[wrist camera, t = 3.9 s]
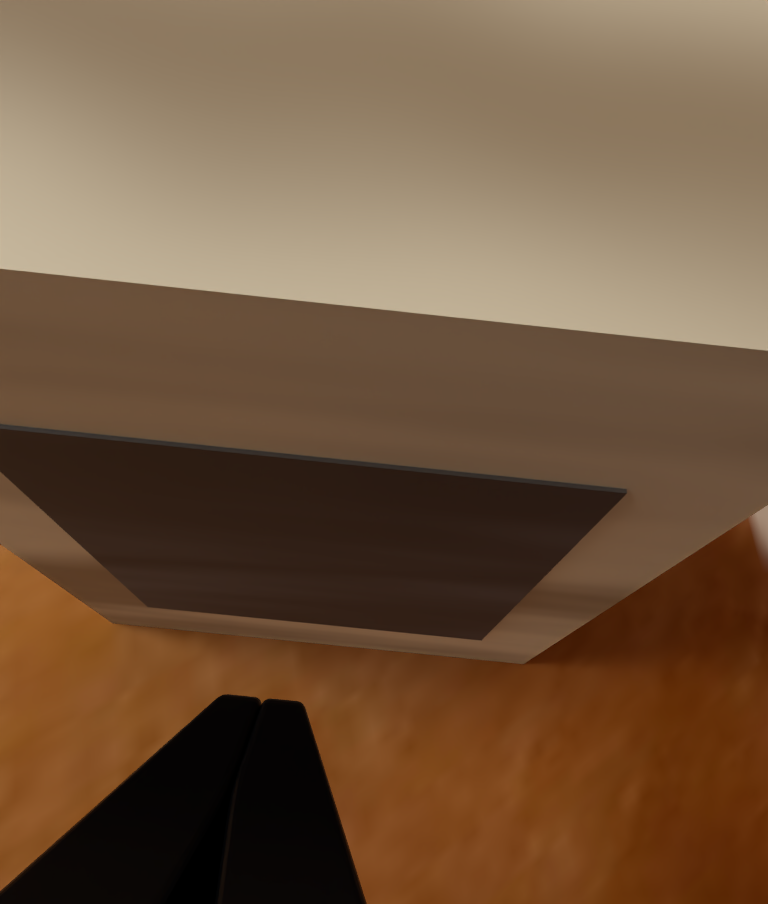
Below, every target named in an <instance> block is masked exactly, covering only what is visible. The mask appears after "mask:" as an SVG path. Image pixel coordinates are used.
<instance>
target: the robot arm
mask: <svg viewBox="0 0 768 904" xmlns="http://www.w3.org/2000/svg"><path fill="white" fill-rule="evenodd" d="M0 904H367V903H366V900H365V897H364V894H363V891H362V887H361V884H360V881H359V878H358V875H357V871H356V868H355V865H354V862H353V859H352V856H351V852H350V849H349V846H348V843H347V840H346V836H345V833H344V830H343V827H342V824H341V820H340V817H339V814H338V811H337V808H336V804H335V801H334V798H333V795H332V792H331V789H330V785H329V782H328V779H327V776H326V773H325V769H324V766H323V763H322V760H321V757H320V753H319V750H318V747H317V744H316V741H315V738H314V734H313V731H312V728H311V725H310V722H309V718H308V715H307V712H306V709H305V707H304V705H303V704H302V703H301V702H298V701H289V700H279V699H267V700H265V701H264V702H263V703H262V704H261V701H260V700H259V699H258V698H256V697H248V696H238V695H228V694H227V695H222V696H220V697H218V698H217V699H216V700H214V701H213V702H212V703H211V704H210V705H209V706H208V707H207V708H205V709H204V710H203V711H202V712H201V713H200V714H199V715H198V716H196V717H195V718H194V719H193V720H192V721H191V722H190V723H189V724H187V725H186V726H185V727H184V728H183V729H182V730H181V731H180V732H178V733H177V734H176V735H175V736H174V737H173V738H172V739H171V740H170V741H168V742H167V743H166V744H165V745H164V746H163V747H162V748H161V749H159V750H158V751H157V752H156V753H155V754H154V755H153V756H152V757H150V758H149V759H148V760H147V761H146V762H145V763H144V764H143V765H141V766H140V767H139V768H138V769H137V770H136V771H135V772H134V773H132V774H131V775H130V776H129V777H128V778H127V779H126V780H125V781H123V782H122V783H121V784H120V785H119V786H118V787H117V788H116V789H115V790H113V791H112V792H111V793H110V794H109V795H108V796H107V797H106V798H104V799H103V800H102V801H101V802H100V803H99V804H98V805H97V806H95V807H94V808H93V809H92V810H91V811H90V812H89V813H88V814H86V815H85V816H84V817H83V818H82V819H81V820H80V821H79V822H77V823H76V824H75V825H74V826H73V827H72V828H71V829H70V830H68V831H67V832H66V833H65V834H64V835H63V836H62V837H61V838H60V839H58V840H57V841H56V842H55V843H54V844H53V845H52V846H51V847H49V848H48V849H47V850H46V851H45V852H44V853H43V854H42V855H40V856H39V857H38V858H37V859H36V860H35V861H34V862H33V863H31V864H30V865H29V866H28V867H27V868H26V869H25V870H24V871H22V872H21V873H20V874H19V875H18V876H17V877H16V878H15V879H13V880H12V881H11V882H10V883H9V884H8V885H7V886H6V887H5V888H3V889H2V890H1V891H0Z"/></svg>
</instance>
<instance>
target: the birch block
mask: <svg viewBox="0 0 768 904" xmlns="http://www.w3.org/2000/svg"><path fill="white" fill-rule="evenodd" d="M767 505H768V0H0V544H1V545H3V546H4V547H5V548H7V549H8V550H10V551H11V552H12V553H14V554H15V555H17V556H18V557H20V558H21V559H22V560H24V561H25V562H27V563H28V564H29V565H31V566H32V567H34V568H35V569H37V570H38V571H39V572H41V573H42V574H44V575H45V576H46V577H48V578H49V579H51V580H52V581H54V582H55V583H56V584H58V585H59V586H61V587H62V588H63V589H65V590H66V591H68V592H69V593H71V594H72V595H73V596H75V597H76V598H78V599H79V600H80V601H82V602H83V603H85V604H86V605H88V606H89V607H90V608H92V609H93V610H95V611H96V612H97V613H99V614H100V615H102V616H103V617H105V618H106V619H107V620H109V621H110V622H112V623H116V624H127V625H137V626H147V627H157V628H167V629H177V630H187V631H197V632H207V633H217V634H227V635H237V636H247V637H257V638H267V639H277V640H287V641H297V642H307V643H317V644H327V645H337V646H347V647H357V648H367V649H377V650H387V651H397V652H408V653H418V654H428V655H438V656H448V657H458V658H468V659H478V660H488V661H498V662H508V663H518V664H524V663H526V662H527V661H529V660H530V659H532V658H534V657H535V656H537V655H538V654H540V653H541V652H543V651H544V650H546V649H547V648H549V647H550V646H552V645H553V644H555V643H557V642H558V641H560V640H561V639H563V638H564V637H566V636H567V635H569V634H570V633H572V632H573V631H575V630H576V629H578V628H580V627H581V626H583V625H584V624H586V623H587V622H589V621H590V620H592V619H593V618H595V617H596V616H598V615H599V614H601V613H603V612H604V611H606V610H607V609H609V608H610V607H612V606H613V605H615V604H616V603H618V602H619V601H621V600H623V599H624V598H626V597H627V596H629V595H630V594H632V593H633V592H635V591H636V590H638V589H639V588H641V587H642V586H644V585H646V584H647V583H649V582H650V581H652V580H653V579H655V578H656V577H658V576H659V575H661V574H662V573H664V572H665V571H667V570H669V569H670V568H672V567H673V566H675V565H676V564H678V563H679V562H681V561H682V560H684V559H685V558H687V557H688V556H690V555H692V554H693V553H695V552H696V551H698V550H699V549H701V548H702V547H704V546H705V545H707V544H708V543H710V542H712V541H713V540H715V539H716V538H718V537H719V536H721V535H722V534H724V533H725V532H727V531H728V530H730V529H731V528H733V527H735V526H736V525H738V524H739V523H741V522H742V521H744V520H745V519H747V518H748V517H750V516H751V515H753V514H754V513H756V512H757V511H759V510H761V509H762V508H764V507H765V506H767Z"/></svg>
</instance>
